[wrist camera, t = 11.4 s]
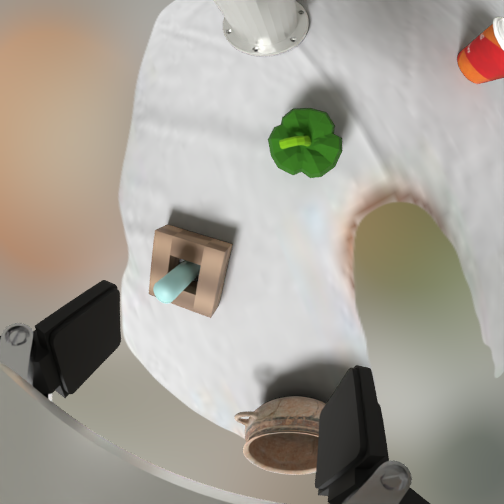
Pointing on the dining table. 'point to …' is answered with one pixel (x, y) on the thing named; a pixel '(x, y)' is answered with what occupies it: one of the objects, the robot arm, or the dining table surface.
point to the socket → (196, 251)
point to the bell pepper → (305, 143)
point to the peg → (176, 281)
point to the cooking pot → (283, 435)
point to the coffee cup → (484, 55)
